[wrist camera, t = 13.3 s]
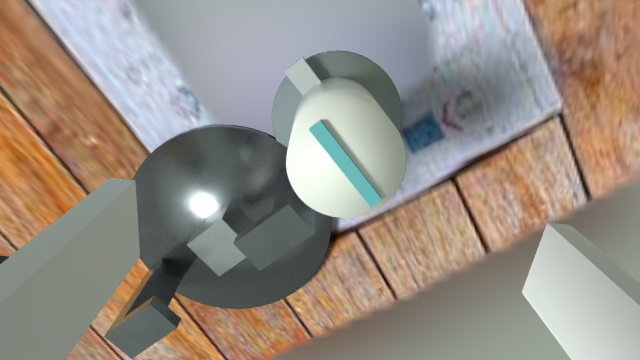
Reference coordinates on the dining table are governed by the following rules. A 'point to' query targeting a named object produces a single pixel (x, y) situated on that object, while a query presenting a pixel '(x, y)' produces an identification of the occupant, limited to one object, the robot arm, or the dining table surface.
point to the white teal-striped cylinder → (341, 146)
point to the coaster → (336, 67)
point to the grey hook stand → (217, 230)
